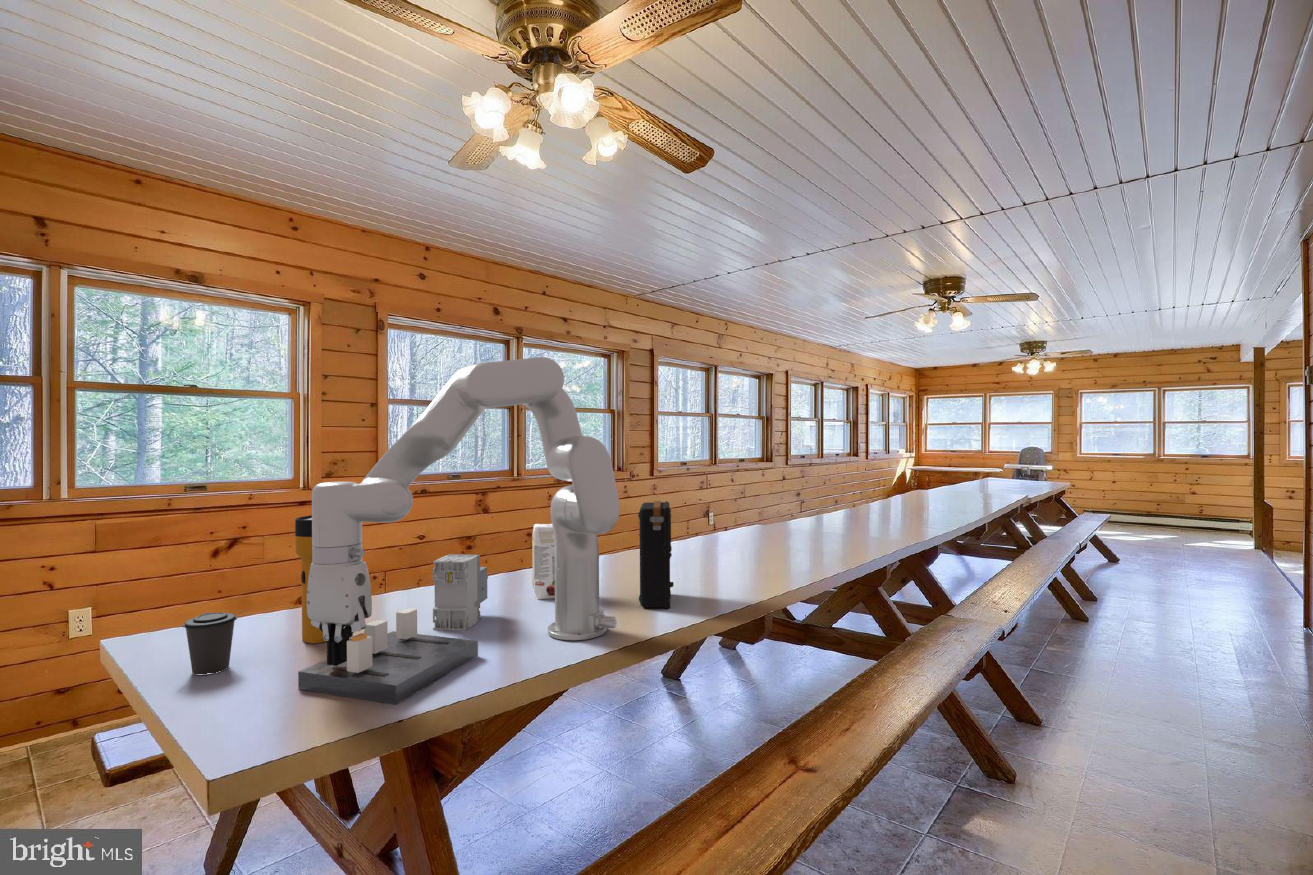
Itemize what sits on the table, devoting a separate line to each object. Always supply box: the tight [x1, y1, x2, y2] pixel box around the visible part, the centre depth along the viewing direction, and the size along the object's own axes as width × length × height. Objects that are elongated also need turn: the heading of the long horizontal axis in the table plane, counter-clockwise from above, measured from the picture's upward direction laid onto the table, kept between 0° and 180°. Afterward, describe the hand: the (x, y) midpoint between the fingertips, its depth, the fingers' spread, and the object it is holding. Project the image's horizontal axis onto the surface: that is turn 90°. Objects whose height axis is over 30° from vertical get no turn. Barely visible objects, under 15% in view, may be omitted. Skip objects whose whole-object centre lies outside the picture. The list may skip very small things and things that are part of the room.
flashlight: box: [294, 514, 327, 644], centre depth 128 cm, size 10×26×10 cm
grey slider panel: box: [297, 630, 479, 705], centre depth 109 cm, size 20×22×3 cm
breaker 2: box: [395, 607, 418, 639], centre depth 118 cm, size 2×3×5 cm
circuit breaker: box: [432, 553, 489, 631], centre depth 140 cm, size 8×14×15 cm, turn 174°
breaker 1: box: [363, 619, 388, 654], centre depth 110 cm, size 2×3×5 cm
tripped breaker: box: [347, 632, 372, 673], centre depth 101 cm, size 2×3×6 cm
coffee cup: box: [182, 611, 238, 674], centre depth 110 cm, size 8×8×10 cm
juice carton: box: [531, 523, 555, 600], centre depth 161 cm, size 8×9×19 cm
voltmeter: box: [637, 500, 674, 610], centre depth 155 cm, size 16×9×25 cm, turn 179°
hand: (338, 662), depth 103 cm, fingers closed
